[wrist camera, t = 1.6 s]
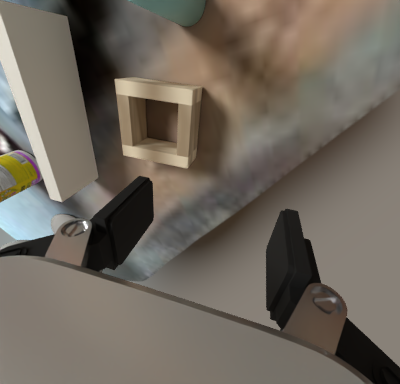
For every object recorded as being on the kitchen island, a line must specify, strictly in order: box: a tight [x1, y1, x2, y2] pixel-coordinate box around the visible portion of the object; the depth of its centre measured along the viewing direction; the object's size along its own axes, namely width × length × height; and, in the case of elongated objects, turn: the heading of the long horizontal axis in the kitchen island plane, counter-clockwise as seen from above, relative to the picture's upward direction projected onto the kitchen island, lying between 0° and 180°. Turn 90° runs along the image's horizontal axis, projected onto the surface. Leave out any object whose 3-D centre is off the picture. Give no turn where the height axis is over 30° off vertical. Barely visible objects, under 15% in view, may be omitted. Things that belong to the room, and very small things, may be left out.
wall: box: [0, 0, 99, 202], centre depth 28 cm, size 2×22×8 cm, turn 174°
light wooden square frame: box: [115, 77, 202, 169], centre depth 26 cm, size 9×9×4 cm
